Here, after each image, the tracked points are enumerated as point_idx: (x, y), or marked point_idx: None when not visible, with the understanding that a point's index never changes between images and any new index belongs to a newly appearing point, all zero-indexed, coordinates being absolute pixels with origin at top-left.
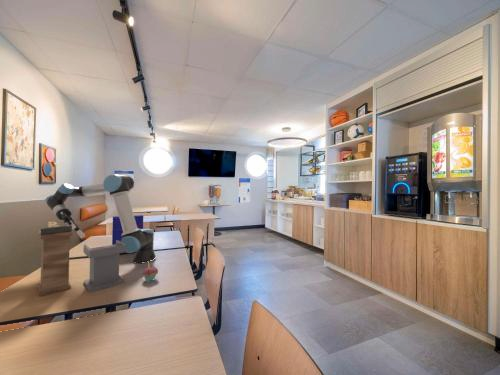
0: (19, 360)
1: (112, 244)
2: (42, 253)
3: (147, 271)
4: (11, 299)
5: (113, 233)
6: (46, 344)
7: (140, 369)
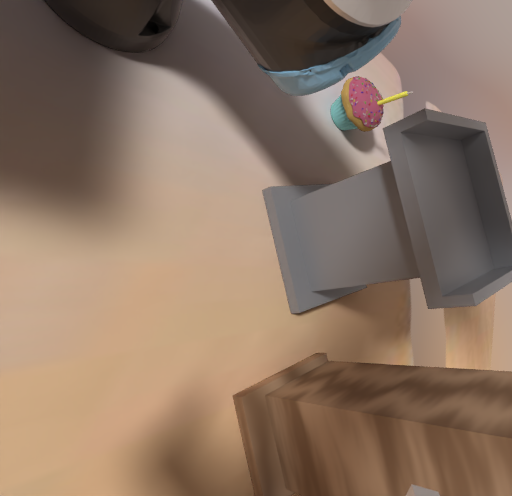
0: (482, 368)
1: None
2: None
3: (381, 115)
4: None
5: None
6: (469, 343)
7: None
